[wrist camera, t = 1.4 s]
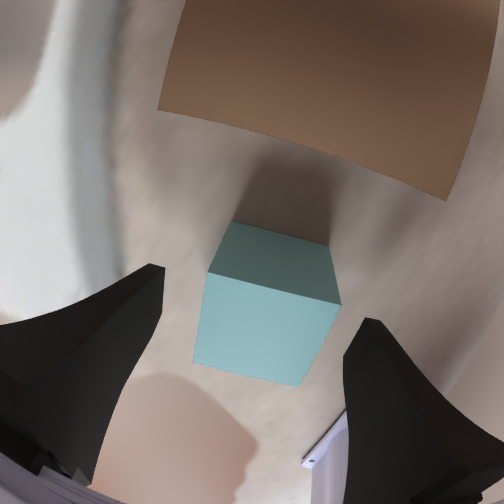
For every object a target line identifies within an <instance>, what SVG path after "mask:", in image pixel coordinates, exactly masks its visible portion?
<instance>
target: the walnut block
mask: <svg viewBox="0 0 504 504" xmlns="http://www.w3.org/2000/svg"><path fill="white" fill-rule="evenodd" d="M499 5H500V0H186V3H185V6H184V10H183V13H182V16H181V19H180V22H179V26H178V29H177V33H176V36H175V40H174V43H173V47H172V50H171V54H170V58H169V62H168V66H167V70H166V74H165V78H164V82H163V87H162V91H161V95H160V100H159V105H158V109H157V110H161V111H166V112H172V113H177V114H182V115H187V116H192V117H196V118H201V119H206V120H210V121H214V122H219V123H223V124H227V125H231V126H235V127H239V128H243V129H247V130H251V131H255V132H258V133H262V134H266V135H269V136H273V137H276V138H280V139H283V140H286V141H290V142H293V143H296V144H299V145H303V146H306V147H309V148H312V149H315V150H318V151H321V152H324V153H327V154H330V155H333V156H336V157H339V158H342V159H344V160H347V161H350V162H353V163H355V164H358V165H361V166H363V167H366V168H369V169H371V170H374V171H377V172H379V173H382V174H384V175H387V176H389V177H392V178H394V179H396V180H399V181H401V182H404V183H406V184H408V185H411V186H413V187H415V188H418V189H420V190H422V191H424V192H427V193H429V194H431V195H433V196H435V197H437V198H440V199H442V200H444V201H447V198H448V196H449V193H450V191H451V189H452V186H453V184H454V181H455V179H456V176H457V173H458V171H459V168H460V165H461V163H462V160H463V157H464V155H465V152H466V149H467V146H468V143H469V140H470V137H471V134H472V131H473V128H474V124H475V121H476V118H477V115H478V111H479V108H480V104H481V100H482V97H483V93H484V89H485V85H486V81H487V76H488V72H489V68H490V63H491V58H492V53H493V47H494V42H495V36H496V29H497V22H498V14H499Z"/></svg>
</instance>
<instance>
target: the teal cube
mask: <svg viewBox="0 0 504 504" xmlns="http://www.w3.org/2000/svg"><path fill="white" fill-rule="evenodd" d="M340 307H341V301H340V296H339V291H338V286H337V281H336V277H335V272H334V267H333V263H332V258H331V253H330V249H329V246H325V245H322V244H318V243H314V242H311V241H307V240H303V239H299V238H296V237H292V236H288V235H284V234H280V233H277V232H273V231H269V230H265V229H261V228H257V227H254V226H250V225H246V224H242V223H238V222H234V221H231V223H230V225H229V227H228V229H227V231H226V233H225V235H224V238H223V240H222V242H221V244H220V246H219V248H218V250H217V252H216V255H215V257H214V259H213V261H212V263H211V265H210V268H209V270H208V272H207V277H206V283H205V289H204V295H203V301H202V307H201V313H200V319H199V325H198V331H197V338H196V344H195V350H194V357H193V363H197V364H200V365H204V366H208V367H211V368H215V369H219V370H223V371H227V372H231V373H235V374H239V375H243V376H248V377H252V378H256V379H261V380H266V381H270V382H275V383H280V384H285V385H290V386H296V387H299V386H300V384H301V383H302V381H303V379H304V377H305V375H306V374H307V372H308V370H309V368H310V366H311V364H312V363H313V361H314V359H315V357H316V355H317V353H318V351H319V349H320V347H321V345H322V343H323V341H324V340H325V338H326V336H327V334H328V332H329V330H330V328H331V326H332V324H333V322H334V319H335V317H336V315H337V313H338V311H339V309H340Z"/></svg>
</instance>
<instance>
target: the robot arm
mask: <svg viewBox="0 0 504 504" xmlns="http://www.w3.org/2000/svg"><path fill="white" fill-rule="evenodd" d="M164 278H165V268H164V267H161V266H157V265H154V264H150V263H149V264H147V265H145V266H143V267H142V268H140V269H138V270H137V271H135V272H133V273H131V274H130V275H128V276H126V277H125V278H123V279H121V280H119V281H118V282H116V283H114V284H112V285H111V286H109V287H107V288H105V289H103V290H101V291H99V292H97V293H95V294H93V295H91V296H89V297H87V298H85V299H83V300H81V301H79V302H77V303H74V304H72V305H70V306H67V307H64V308H62V309H59V310H57V311H54V312H51V313H47V314H44V315H41V316H38V317H35V318H31V319H28V320H23V321H19V322H15V323H9V324H4V325H0V504H125V503H123V502H120V501H117V500H115V499H112V498H110V497H107V496H105V495H103V494H100V493H98V492H96V491H94V490H91V489H89V488H87V487H85V486H88V485H91V483H92V479H93V475H94V471H95V467H96V463H97V459H98V456H99V453H100V449H101V446H102V443H103V439H104V437H105V433H106V430H107V428H108V425H109V422H110V419H111V417H112V414H113V411H114V409H115V406H116V404H117V401H118V399H119V396H120V394H121V391H122V389H123V387H124V385H125V383H126V381H127V379H128V378H129V376H130V374H131V372H132V371H133V369H134V367H135V365H136V364H137V362H138V360H139V358H140V357H141V355H142V353H143V351H144V350H145V348H146V346H147V344H148V343H149V341H150V339H151V337H152V335H153V333H154V331H155V328H156V326H157V324H158V321H159V319H160V316H161V314H162V305H163V291H164ZM343 386H344V395H345V404H346V411H345V412H344V413H343V415H342V416H341V417H340V418H339V420H338V421H337V422H336V423H335V424H334V426H333V427H332V428H331V429H330V430H329V431H328V433H327V434H326V435H325V436H324V437H323V438H322V439H321V441H320V442H319V443H318V444H317V445H316V446H315V447H314V448H313V450H312V451H311V452H310V453H309V454H308V455H307V456H306V457H305V458H304V459H303V460H302V461H301V466H302V467H306V468H312V490H311V504H477V503H479V502H481V501H482V499H483V497H482V493H481V492H483V491H484V490H486V489H487V488H489V487H490V486H492V485H493V484H495V483H496V482H498V481H499V480H501V479H502V478H503V477H504V442H502V441H501V440H499V439H497V438H495V437H494V436H492V435H490V434H489V433H487V432H486V431H484V430H483V429H481V428H480V427H479V426H477V425H476V424H474V423H473V422H472V421H471V420H469V419H468V418H467V417H465V416H464V415H463V414H462V413H461V412H460V411H459V410H457V409H456V408H455V407H454V406H453V405H452V404H450V402H449V401H447V400H446V399H445V397H444V396H443V395H442V394H441V393H440V392H439V391H438V390H437V389H436V388H435V387H434V386H433V385H432V384H431V383H430V382H429V381H428V379H427V378H426V377H425V376H424V375H423V373H422V372H421V371H420V370H419V369H418V367H417V366H416V365H415V364H414V362H413V361H412V360H411V359H410V357H409V356H408V355H407V353H406V352H405V351H404V350H403V348H402V347H401V346H400V344H399V343H398V342H397V340H396V339H395V338H394V337H393V335H392V334H391V333H390V331H389V330H388V329H387V328H386V327H385V325H384V324H383V323H382V322H381V321H380V320H376V319H371V318H367V317H365V319H364V321H363V322H362V324H361V326H360V328H359V330H358V331H357V333H356V335H355V337H354V339H353V340H352V342H351V344H350V346H349V347H348V349H347V351H346V352H345V354H344V356H343ZM492 504H504V500H500V501H498V502H495V503H492Z"/></svg>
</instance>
